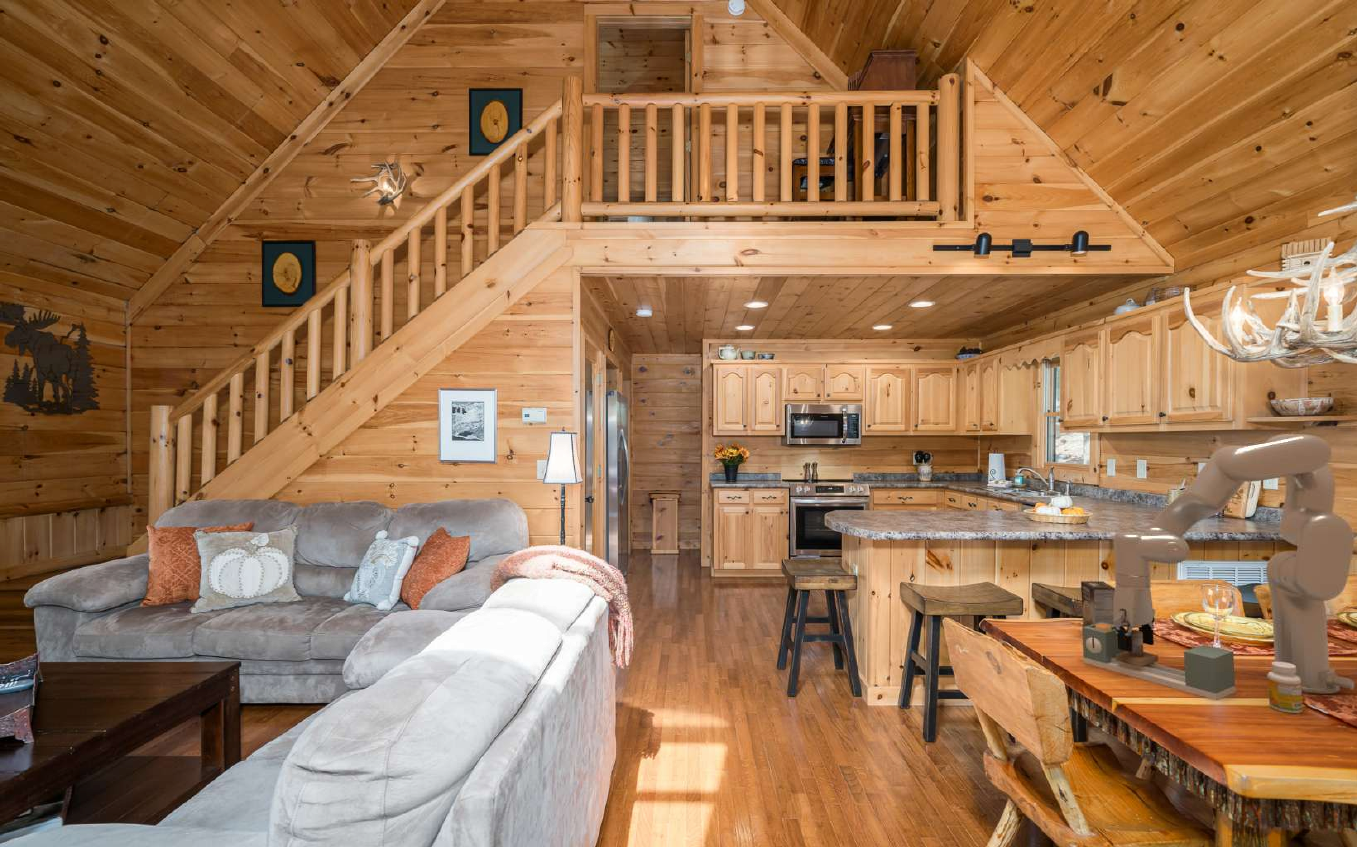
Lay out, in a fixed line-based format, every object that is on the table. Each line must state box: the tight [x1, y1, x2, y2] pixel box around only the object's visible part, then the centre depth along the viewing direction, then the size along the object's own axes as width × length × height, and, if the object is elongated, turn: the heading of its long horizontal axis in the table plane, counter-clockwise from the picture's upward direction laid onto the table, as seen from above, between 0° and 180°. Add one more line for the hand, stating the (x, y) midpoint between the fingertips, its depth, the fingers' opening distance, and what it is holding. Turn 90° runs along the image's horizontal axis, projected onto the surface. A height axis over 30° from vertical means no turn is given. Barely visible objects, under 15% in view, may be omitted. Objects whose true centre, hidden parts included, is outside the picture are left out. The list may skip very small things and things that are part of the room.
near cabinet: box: [1183, 644, 1236, 694], centre depth 156 cm, size 7×9×8 cm
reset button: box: [1095, 624, 1111, 631], centre depth 177 cm, size 4×4×3 cm
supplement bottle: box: [1267, 661, 1304, 714], centre depth 145 cm, size 5×5×10 cm
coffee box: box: [1080, 580, 1115, 627], centre depth 198 cm, size 9×6×16 cm
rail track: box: [1083, 657, 1236, 701], centre depth 166 cm, size 30×9×2 cm, turn 28°
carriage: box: [1115, 629, 1159, 667], centre depth 170 cm, size 6×8×8 cm
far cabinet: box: [1081, 622, 1126, 664], centre depth 176 cm, size 6×10×8 cm, turn 118°
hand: (1136, 646), depth 170 cm, fingers open, 9 cm apart
